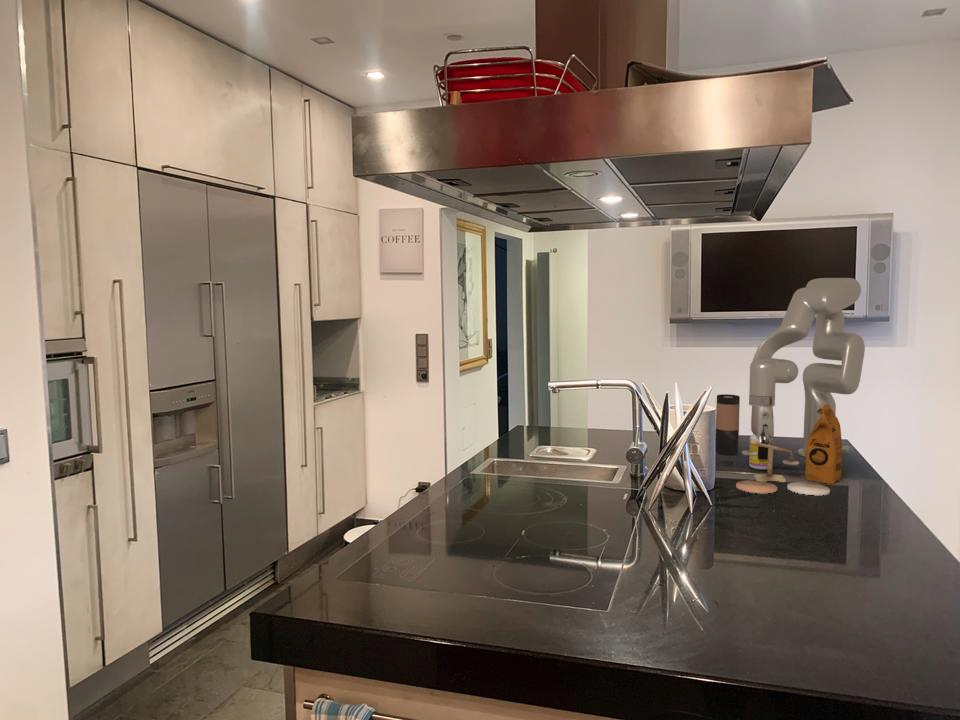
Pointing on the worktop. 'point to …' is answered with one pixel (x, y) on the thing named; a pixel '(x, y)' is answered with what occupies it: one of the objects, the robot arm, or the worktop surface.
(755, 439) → the supplement bottle
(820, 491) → the plate offwhite
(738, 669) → the worktop surface
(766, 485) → the plate terracotta
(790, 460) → the balance
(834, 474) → the coffee package
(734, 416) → the travel mug
